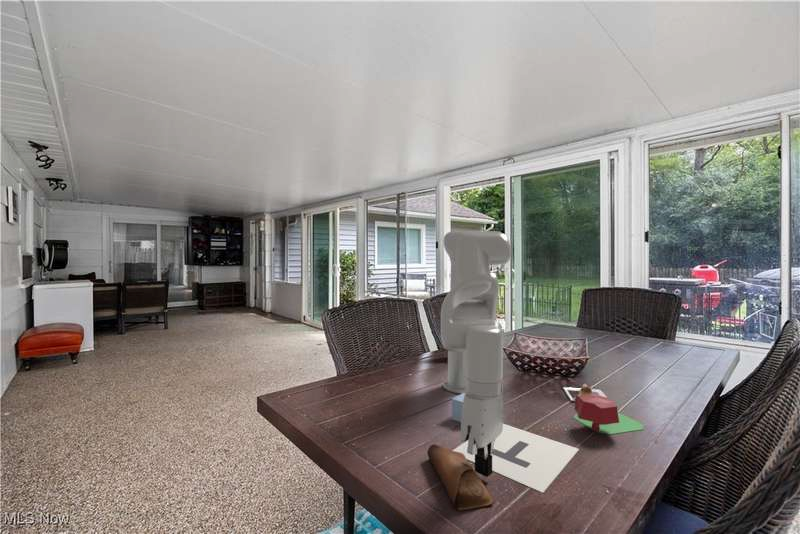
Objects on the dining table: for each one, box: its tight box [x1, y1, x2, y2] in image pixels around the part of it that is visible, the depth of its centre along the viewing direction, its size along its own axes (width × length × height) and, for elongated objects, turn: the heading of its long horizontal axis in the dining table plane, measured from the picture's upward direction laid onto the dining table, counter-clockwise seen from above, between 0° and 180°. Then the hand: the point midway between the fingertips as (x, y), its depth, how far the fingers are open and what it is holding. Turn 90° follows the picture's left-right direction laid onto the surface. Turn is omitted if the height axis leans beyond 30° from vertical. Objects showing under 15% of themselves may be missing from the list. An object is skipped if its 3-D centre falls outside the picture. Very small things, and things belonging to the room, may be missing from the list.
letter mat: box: [452, 423, 580, 494], centre depth 87 cm, size 22×22×1 cm
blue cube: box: [451, 393, 466, 423], centre depth 105 cm, size 6×6×6 cm
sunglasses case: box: [427, 443, 495, 511], centre depth 76 cm, size 18×7×7 cm
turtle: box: [573, 393, 644, 436], centre depth 101 cm, size 15×20×9 cm
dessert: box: [562, 383, 607, 402], centre depth 121 cm, size 12×12×5 cm
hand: (483, 472), depth 77 cm, fingers closed
